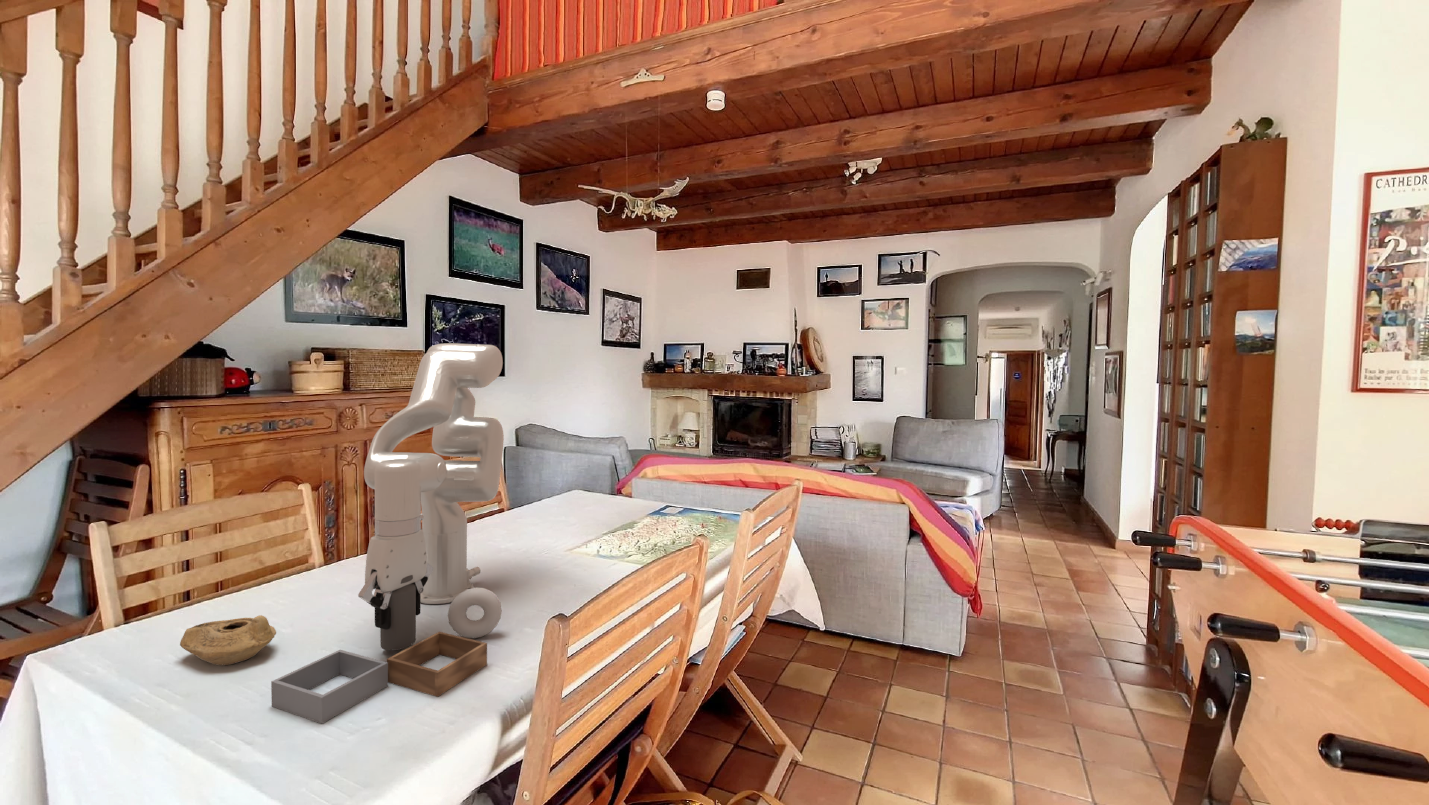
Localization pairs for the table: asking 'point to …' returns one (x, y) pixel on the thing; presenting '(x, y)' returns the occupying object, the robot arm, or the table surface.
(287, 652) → the table surface
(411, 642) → the bottle
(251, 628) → the oil lamp
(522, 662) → the table surface
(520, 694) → the table surface
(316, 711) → the grey bin
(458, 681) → the walnut bin
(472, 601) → the donut
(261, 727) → the table surface
